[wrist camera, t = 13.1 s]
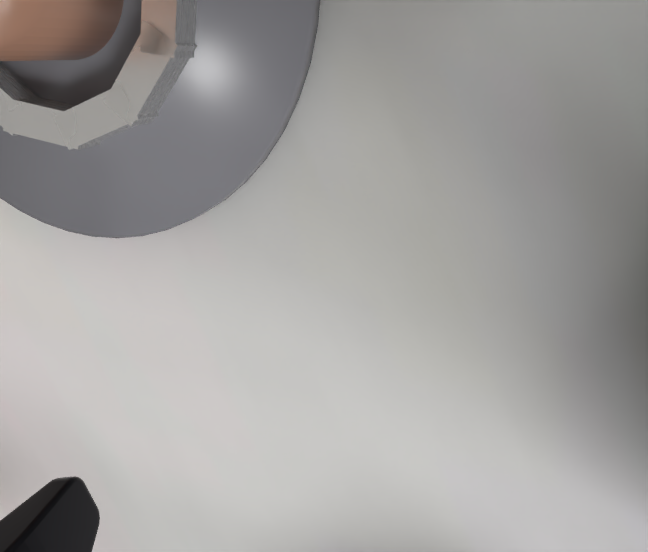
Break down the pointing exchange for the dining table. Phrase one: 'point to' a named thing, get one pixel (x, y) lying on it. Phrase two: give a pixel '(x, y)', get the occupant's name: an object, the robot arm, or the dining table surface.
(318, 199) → the dining table surface
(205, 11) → the charcoal plate
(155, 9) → the metal collar
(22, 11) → the terracotta peg
